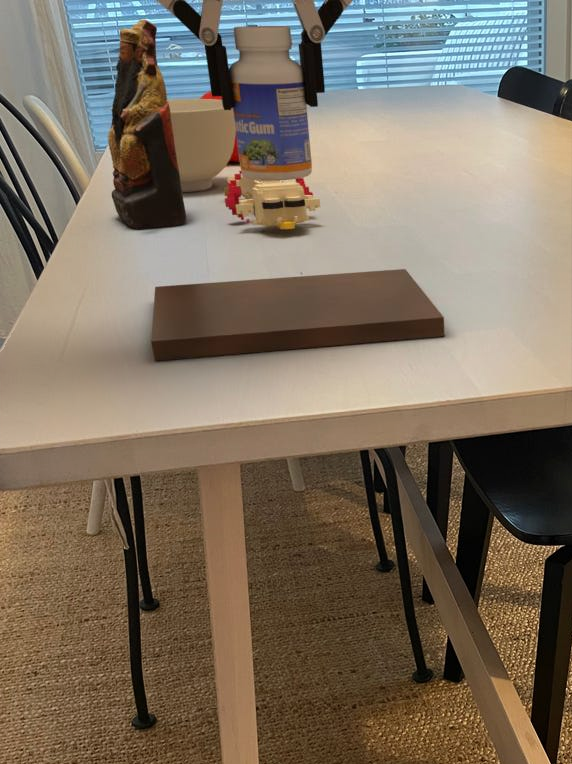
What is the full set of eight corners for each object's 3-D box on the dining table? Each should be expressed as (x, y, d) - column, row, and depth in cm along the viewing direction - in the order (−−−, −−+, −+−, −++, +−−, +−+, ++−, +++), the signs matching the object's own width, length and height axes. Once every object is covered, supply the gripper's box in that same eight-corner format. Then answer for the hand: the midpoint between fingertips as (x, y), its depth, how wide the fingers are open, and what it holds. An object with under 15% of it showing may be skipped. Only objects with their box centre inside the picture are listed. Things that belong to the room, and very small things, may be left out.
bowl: (248, 196, 128) (237, 109, 123) (121, 201, 126) (104, 113, 120) (247, 176, 141) (236, 97, 136) (131, 181, 139) (116, 100, 133)
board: (154, 361, 73) (150, 341, 72) (158, 304, 86) (154, 286, 85) (444, 336, 77) (444, 317, 76) (406, 285, 90) (405, 268, 89)
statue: (114, 215, 119) (74, 19, 107) (181, 209, 121) (149, 17, 110) (124, 234, 109) (82, 22, 98) (197, 228, 112) (164, 21, 101)
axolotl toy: (210, 212, 126) (244, 233, 105) (198, 135, 121) (230, 142, 101) (287, 206, 129) (334, 225, 108) (278, 131, 124) (325, 136, 104)
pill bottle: (226, 178, 75) (205, 27, 69) (277, 168, 78) (260, 24, 73) (278, 184, 72) (260, 28, 67) (328, 173, 76) (314, 25, 70)
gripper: (358, -204, 67) (376, 97, 77) (96, -210, 64) (151, 106, 74) (375, -222, 61) (393, 107, 71) (87, -231, 58) (148, 117, 68)
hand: (269, 103), depth 72 cm, fingers closed on pill bottle, 5 cm apart
